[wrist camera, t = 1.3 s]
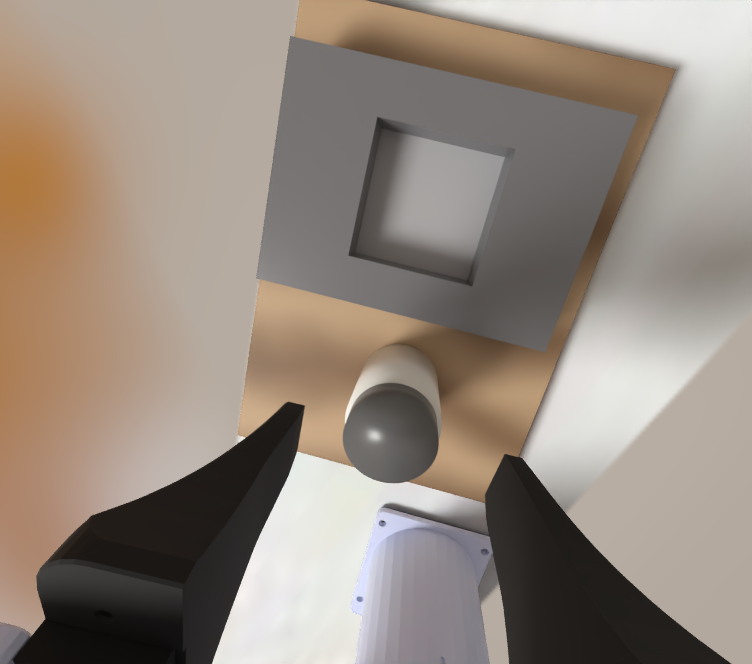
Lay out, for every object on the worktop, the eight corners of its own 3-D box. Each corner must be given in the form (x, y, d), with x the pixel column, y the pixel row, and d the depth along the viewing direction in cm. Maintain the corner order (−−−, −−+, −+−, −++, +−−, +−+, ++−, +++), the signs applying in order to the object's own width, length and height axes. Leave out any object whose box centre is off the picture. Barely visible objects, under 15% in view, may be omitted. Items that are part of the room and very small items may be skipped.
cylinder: (425, 422, 22) (427, 498, 16) (354, 403, 23) (328, 471, 16) (446, 355, 21) (457, 409, 15) (370, 335, 21) (350, 380, 15)
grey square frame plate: (602, 133, 17) (638, 115, 15) (527, 334, 20) (545, 352, 17) (310, 66, 18) (290, 35, 15) (278, 270, 21) (256, 278, 18)
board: (495, 495, 24) (498, 506, 23) (244, 426, 25) (237, 434, 24) (661, 77, 17) (675, 69, 16) (307, -2, 18) (301, -14, 17)
